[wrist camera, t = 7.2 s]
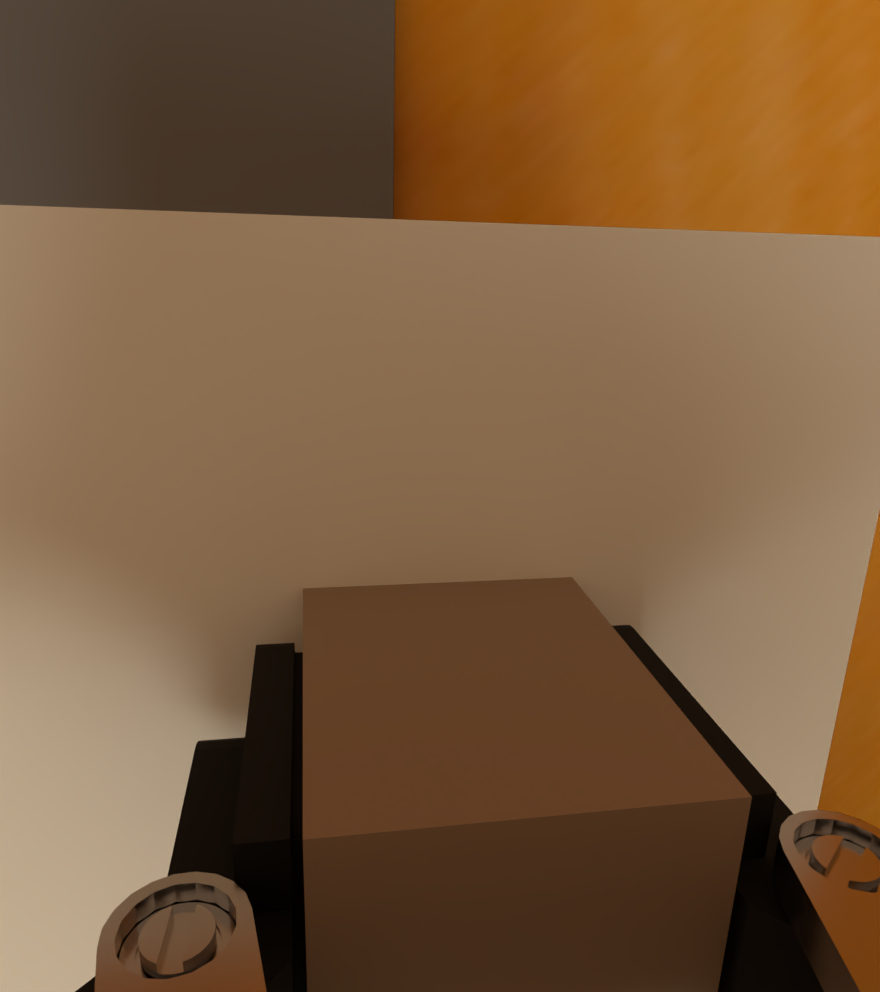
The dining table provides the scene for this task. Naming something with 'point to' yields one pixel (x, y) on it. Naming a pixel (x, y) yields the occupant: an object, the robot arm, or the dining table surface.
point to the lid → (427, 571)
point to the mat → (199, 105)
